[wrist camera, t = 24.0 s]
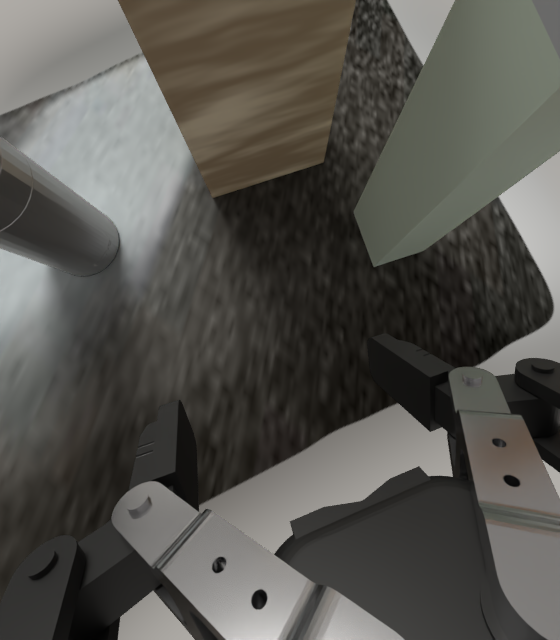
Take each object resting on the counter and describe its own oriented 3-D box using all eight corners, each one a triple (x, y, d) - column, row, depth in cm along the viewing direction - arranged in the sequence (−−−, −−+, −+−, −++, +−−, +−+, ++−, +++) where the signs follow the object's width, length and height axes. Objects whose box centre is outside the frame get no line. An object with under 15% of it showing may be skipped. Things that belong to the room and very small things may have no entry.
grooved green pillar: (423, 250, 40) (767, -1, 12) (373, 267, 40) (593, 55, 11) (402, 196, 41) (672, -166, 12) (353, 212, 41) (510, -115, 12)
